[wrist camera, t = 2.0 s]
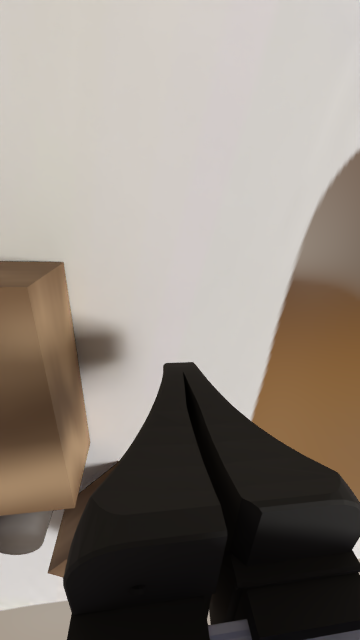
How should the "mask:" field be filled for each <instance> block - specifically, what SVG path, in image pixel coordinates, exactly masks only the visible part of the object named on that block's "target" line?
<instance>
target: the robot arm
mask: <svg viewBox="0 0 360 640" xmlns="http://www.w3.org/2000/svg"><path fill="white" fill-rule="evenodd" d="M359 537H360V502H359V501H358V499H357V498H356V496H355V495H354V493H353V492H352V490H351V489H350V488H349V486H348V485H347V484H346V482H345V481H344V480H343V479H342V477H341V476H340V475H339V474H338V473H337V472H336V471H334V470H332V469H330V468H328V467H326V466H324V465H322V464H320V463H318V462H316V461H314V460H312V459H310V458H308V457H306V456H304V455H302V454H301V453H299V452H297V451H295V450H294V449H292V448H290V447H289V446H287V445H285V444H284V443H282V442H280V441H278V440H277V439H276V438H274V437H272V436H271V435H270V434H268V433H267V432H265V431H264V430H262V429H261V428H259V427H258V426H257V425H255V424H254V423H253V422H251V421H250V420H249V419H248V418H246V417H245V416H244V415H243V414H241V413H240V412H239V411H238V410H237V409H236V408H234V407H233V406H232V405H231V404H230V403H229V402H228V401H227V400H226V399H225V398H224V397H223V396H222V395H221V394H220V393H219V392H218V391H217V390H216V389H215V387H214V386H213V385H212V384H211V383H210V382H209V381H208V380H207V378H206V377H205V376H204V375H203V373H202V372H201V371H200V370H199V368H198V367H197V366H196V365H195V364H194V363H193V362H187V363H166V364H165V365H163V378H162V382H161V385H160V388H159V391H158V394H157V397H156V399H155V402H154V404H153V406H152V409H151V411H150V413H149V415H148V417H147V419H146V421H145V423H144V424H143V426H142V428H141V430H140V431H139V433H138V435H137V436H136V438H135V440H134V441H133V443H132V444H131V446H130V447H129V449H128V450H127V451H126V453H125V454H124V455H123V457H122V458H121V460H120V461H119V462H118V464H117V465H116V466H115V468H114V469H113V470H112V471H111V473H110V474H109V475H108V476H107V477H106V479H105V480H104V481H103V482H102V483H101V484H100V486H99V487H98V488H97V489H96V490H95V491H94V493H93V494H92V495H91V496H90V498H89V500H88V502H87V504H86V507H85V509H84V511H83V513H82V516H81V518H80V521H79V523H78V525H77V528H76V531H75V534H74V537H73V540H72V543H71V546H70V550H69V554H68V559H67V563H66V568H65V572H64V577H63V586H64V589H65V592H66V596H67V599H68V602H69V605H70V608H71V612H72V615H71V621H70V626H69V631H68V637H67V640H360V575H359V573H358V572H360V563H359V561H358V559H357V557H356V556H355V554H354V552H353V551H352V549H353V547H354V545H355V544H356V542H357V540H358V539H359ZM208 611H209V612H210V621H211V625H208V623H207V616H208Z"/></svg>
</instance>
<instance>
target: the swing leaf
mask: <svg viewBox="0 0 360 640" xmlns="http://www.w3.org/2000/svg"><path fill="white" fill-rule="evenodd" d="M89 446H90V438H89V431H88V425H87V418H86V411H85V404H84V398H83V391H82V384H81V377H80V371H79V364H78V357H77V350H76V344H75V337H74V330H73V323H72V317H71V310H70V303H69V296H68V289H67V283H66V276H65V269H64V262H8V261H0V552H1V553H4V554H10V555H21V554H27V553H31V552H33V551H35V550H37V549H39V548H40V547H41V546H42V544H43V541H44V538H45V535H46V532H47V528H48V525H49V522H50V519H51V515H52V512H53V510H61V509H70V508H75V505H76V501H77V497H78V492H79V488H80V484H81V480H82V475H83V471H84V467H85V463H86V459H87V454H88V450H89Z"/></svg>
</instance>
